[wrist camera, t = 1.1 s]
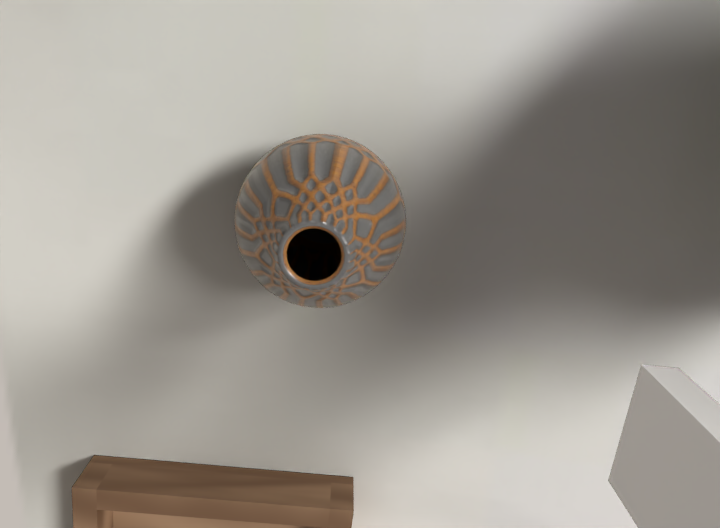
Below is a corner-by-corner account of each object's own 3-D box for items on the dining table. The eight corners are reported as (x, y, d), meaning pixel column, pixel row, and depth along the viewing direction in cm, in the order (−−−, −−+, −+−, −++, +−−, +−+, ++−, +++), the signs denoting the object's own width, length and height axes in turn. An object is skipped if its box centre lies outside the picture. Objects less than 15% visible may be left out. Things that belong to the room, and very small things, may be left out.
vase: (239, 256, 28) (192, 329, 19) (265, 112, 26) (225, 125, 17) (378, 286, 28) (390, 370, 20) (414, 148, 26) (444, 176, 18)
